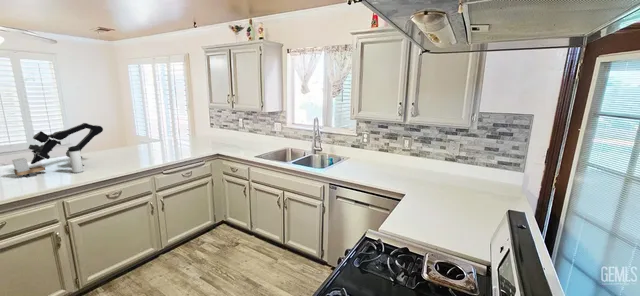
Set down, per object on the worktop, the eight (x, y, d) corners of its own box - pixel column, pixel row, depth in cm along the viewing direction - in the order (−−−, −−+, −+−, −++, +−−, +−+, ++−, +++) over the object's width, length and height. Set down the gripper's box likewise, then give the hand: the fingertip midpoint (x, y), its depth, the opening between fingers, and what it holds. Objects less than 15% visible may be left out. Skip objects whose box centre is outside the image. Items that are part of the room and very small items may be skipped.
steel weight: (27, 169, 203) (23, 157, 201) (29, 170, 200) (26, 158, 197) (15, 172, 198) (11, 159, 196) (18, 173, 195) (14, 161, 193)
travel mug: (86, 171, 213) (81, 145, 209) (78, 173, 207) (73, 147, 203) (78, 170, 214) (74, 145, 210) (70, 173, 207) (65, 147, 203)
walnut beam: (42, 168, 210) (41, 164, 209) (45, 170, 206) (44, 165, 205) (15, 174, 199) (13, 169, 198) (18, 176, 194) (16, 171, 193)
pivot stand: (42, 171, 212) (41, 168, 211) (47, 173, 206) (46, 170, 205) (16, 175, 200) (15, 172, 200) (20, 178, 194) (19, 175, 194)
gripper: (32, 138, 208) (14, 156, 201) (40, 141, 198) (21, 160, 191) (48, 147, 216) (32, 164, 209) (57, 150, 206) (40, 168, 199)
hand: (31, 163), depth 202 cm, fingers closed
